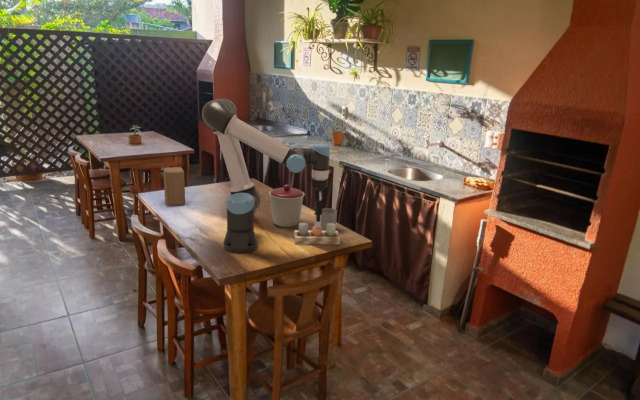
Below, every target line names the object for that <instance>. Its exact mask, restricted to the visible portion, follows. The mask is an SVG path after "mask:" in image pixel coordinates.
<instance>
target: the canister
mask: <svg viewBox="0 0 640 400" xmlns="http://www.w3.org/2000/svg"><path fill="white" fill-rule="evenodd" d="M268 196H270V198H269V199H270V209H271V217H272V222H273V224H274V225H276V226H278V227H281V228H290V227H296V226H297V225H299V223H300V218H301V214H302V207H303V201H304V197H305V192H304V191H302V190H300V189H298V188H294V187H291V185H290V184H284V185H283V187H277V188H273V189H272V190H270V191H269V192H268Z"/></svg>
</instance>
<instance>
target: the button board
mask: <svg viewBox="0 0 640 400" xmlns="http://www.w3.org/2000/svg"><path fill="white" fill-rule="evenodd" d="M293 233H294V234H293V239H294V244H295V245H339V244H341V237H340V234H339V231H338V230H336V231H335V236H327V235H326V231H322V235H321V236H312V229H311V230H310V229H308V235H306V236H301V235H299V229H298V230H297V229H294V230H293Z"/></svg>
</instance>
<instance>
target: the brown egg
mask: <svg viewBox="0 0 640 400" xmlns="http://www.w3.org/2000/svg"><path fill="white" fill-rule="evenodd" d="M311 230H312V236H321V235H322V227H321V228H315V225H314V226H312V229H311Z"/></svg>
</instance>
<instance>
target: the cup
mask: <svg viewBox="0 0 640 400" xmlns="http://www.w3.org/2000/svg"><path fill="white" fill-rule="evenodd" d="M337 217H338V210H337V209H335V208H330V207H329V208H328V207H325V208H323V207H322V215H321V227H322V231H326V224H327V223H334V224H336V225H337V220H338V219H337ZM336 229H337V228H336ZM336 229H335V230H336ZM336 231H337V230H336Z"/></svg>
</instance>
